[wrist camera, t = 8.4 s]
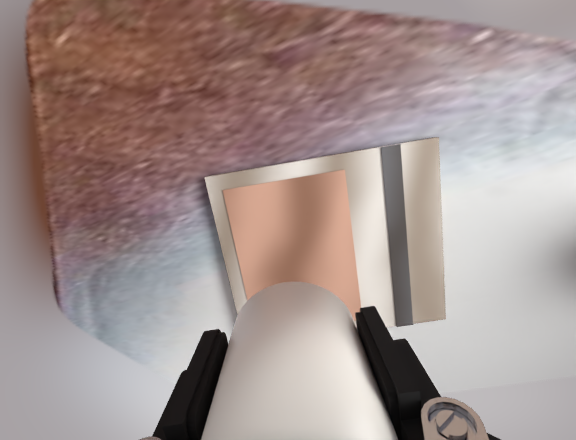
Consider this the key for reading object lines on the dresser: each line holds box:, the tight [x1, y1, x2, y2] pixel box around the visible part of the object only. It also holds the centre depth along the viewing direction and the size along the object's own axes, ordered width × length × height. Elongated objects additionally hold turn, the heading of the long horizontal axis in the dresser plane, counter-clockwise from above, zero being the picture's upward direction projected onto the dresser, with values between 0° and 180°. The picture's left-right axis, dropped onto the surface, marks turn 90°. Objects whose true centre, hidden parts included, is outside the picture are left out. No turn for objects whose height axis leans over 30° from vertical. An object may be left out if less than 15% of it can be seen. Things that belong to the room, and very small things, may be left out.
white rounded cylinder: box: [201, 282, 398, 440], centre depth 9 cm, size 5×5×6 cm
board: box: [204, 137, 446, 328], centre depth 21 cm, size 15×13×1 cm
